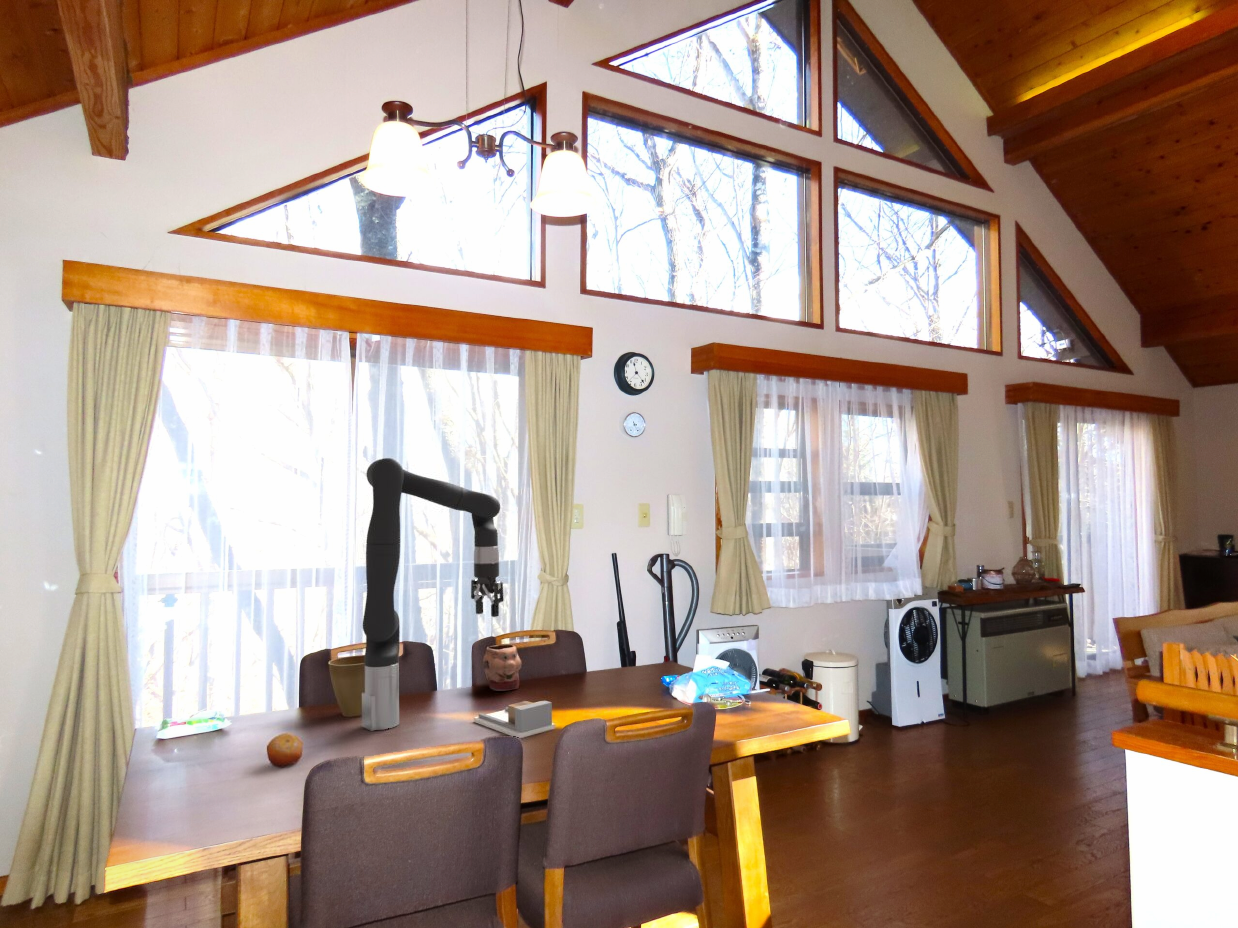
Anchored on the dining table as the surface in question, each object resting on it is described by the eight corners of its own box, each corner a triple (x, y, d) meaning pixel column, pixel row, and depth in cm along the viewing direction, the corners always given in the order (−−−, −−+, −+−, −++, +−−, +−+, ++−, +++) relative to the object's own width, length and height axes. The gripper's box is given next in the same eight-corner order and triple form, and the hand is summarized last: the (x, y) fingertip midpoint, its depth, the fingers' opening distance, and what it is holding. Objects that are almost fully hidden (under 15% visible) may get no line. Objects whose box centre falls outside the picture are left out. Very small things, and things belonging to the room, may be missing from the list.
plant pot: (389, 706, 234) (388, 654, 235) (368, 720, 219) (368, 664, 220) (342, 706, 235) (342, 654, 236) (319, 720, 221) (319, 664, 221)
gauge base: (518, 738, 200) (518, 710, 200) (473, 721, 216) (473, 695, 216) (554, 728, 208) (554, 701, 208) (509, 712, 224) (508, 688, 224)
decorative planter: (472, 684, 260) (471, 643, 260) (504, 679, 267) (503, 639, 268) (498, 696, 244) (498, 652, 244) (532, 690, 251) (531, 647, 251)
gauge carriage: (516, 729, 203) (516, 707, 203) (503, 724, 207) (503, 703, 208) (543, 721, 209) (543, 701, 209) (530, 717, 213) (530, 697, 214)
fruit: (288, 749, 190) (296, 724, 188) (302, 771, 186) (310, 746, 184) (256, 758, 184) (264, 732, 182) (269, 781, 180) (278, 755, 177)
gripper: (463, 561, 233) (463, 614, 232) (488, 563, 223) (489, 619, 222) (484, 559, 238) (484, 611, 237) (510, 561, 228) (510, 615, 227)
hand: (487, 615), depth 230 cm, fingers open, 8 cm apart
